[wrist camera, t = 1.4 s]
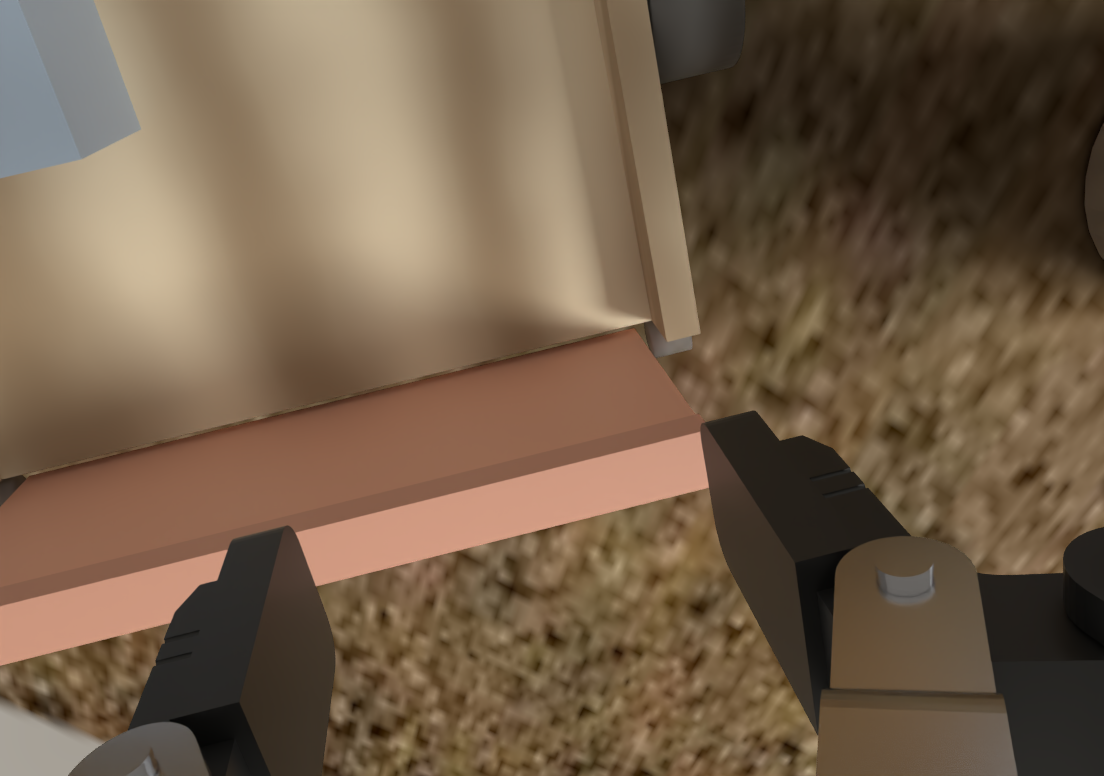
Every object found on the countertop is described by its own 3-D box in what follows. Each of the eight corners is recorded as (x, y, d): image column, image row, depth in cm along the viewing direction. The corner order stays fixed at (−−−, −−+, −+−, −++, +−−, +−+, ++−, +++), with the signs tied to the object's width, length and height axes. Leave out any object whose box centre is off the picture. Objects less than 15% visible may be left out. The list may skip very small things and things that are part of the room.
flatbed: (652, -302, 26) (701, -363, 22) (739, 306, 33) (790, 357, 29) (-352, -77, 26) (-522, -91, 21) (-50, 499, 32) (-127, 584, 28)
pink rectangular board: (633, 321, 30) (710, 429, 22) (641, 363, 31) (719, 484, 22) (26, 470, 30) (-138, 640, 21) (44, 510, 30) (-109, 692, 22)
